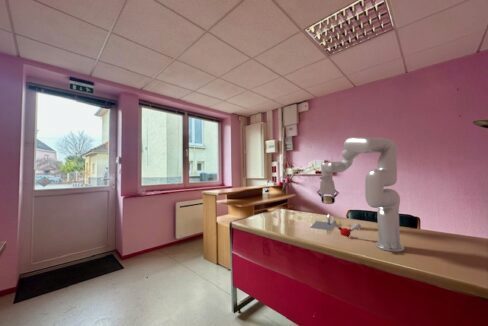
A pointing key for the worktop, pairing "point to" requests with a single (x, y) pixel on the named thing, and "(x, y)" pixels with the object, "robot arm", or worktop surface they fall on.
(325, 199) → the bead
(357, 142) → the robot arm
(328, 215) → the needle post
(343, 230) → the molecular model
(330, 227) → the lacing board
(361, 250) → the worktop surface
